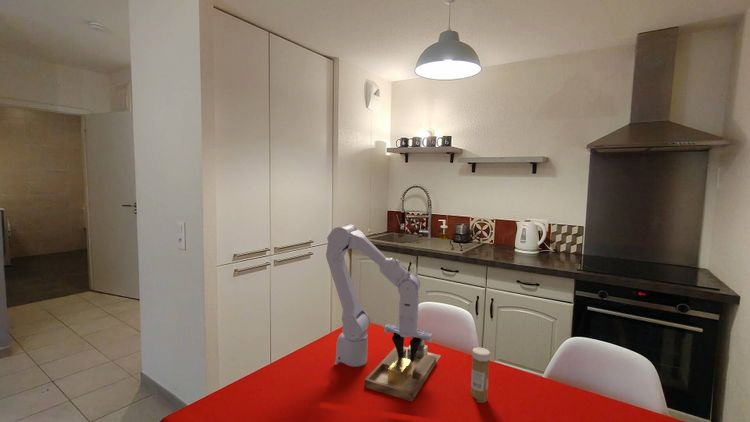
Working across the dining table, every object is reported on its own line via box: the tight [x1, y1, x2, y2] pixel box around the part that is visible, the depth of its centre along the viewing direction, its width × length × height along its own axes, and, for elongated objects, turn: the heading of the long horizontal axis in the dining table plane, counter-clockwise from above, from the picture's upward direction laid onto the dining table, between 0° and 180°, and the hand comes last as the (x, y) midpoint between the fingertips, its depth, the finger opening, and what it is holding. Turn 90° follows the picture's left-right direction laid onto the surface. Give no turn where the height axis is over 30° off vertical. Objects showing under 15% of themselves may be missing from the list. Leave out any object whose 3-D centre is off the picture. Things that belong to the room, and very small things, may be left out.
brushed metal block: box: [407, 340, 429, 359], centre depth 118 cm, size 6×5×6 cm
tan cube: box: [395, 357, 412, 380], centre depth 105 cm, size 4×4×4 cm
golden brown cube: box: [388, 363, 406, 386], centre depth 102 cm, size 4×4×4 cm
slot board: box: [364, 345, 442, 402], centre depth 108 cm, size 14×28×3 cm, turn 155°
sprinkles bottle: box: [470, 347, 491, 404], centre depth 96 cm, size 5×5×14 cm
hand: (406, 359), depth 108 cm, fingers closed on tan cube, 3 cm apart
